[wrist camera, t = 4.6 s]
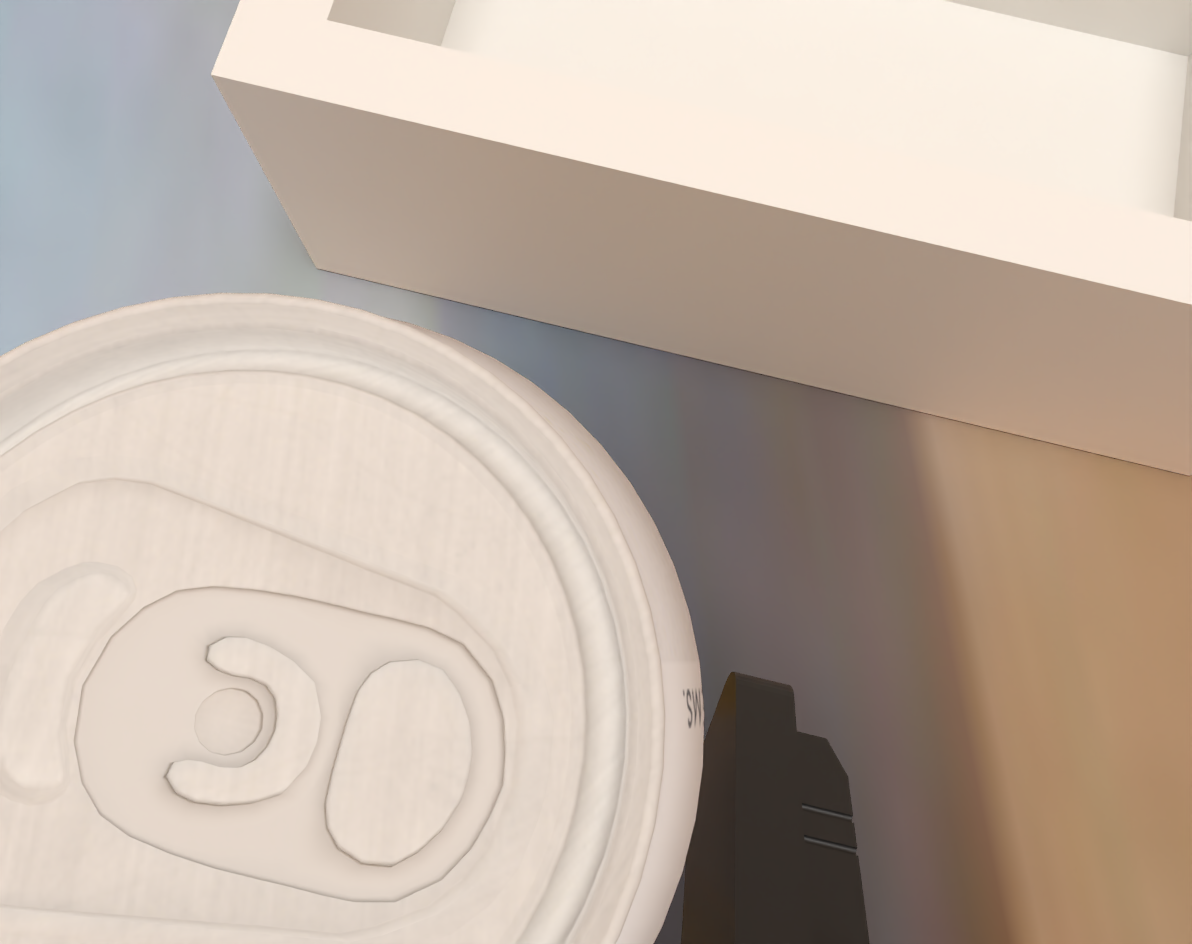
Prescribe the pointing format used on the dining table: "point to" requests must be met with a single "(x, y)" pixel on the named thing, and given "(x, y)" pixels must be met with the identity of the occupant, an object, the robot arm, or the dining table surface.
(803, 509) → the dining table surface
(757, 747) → the robot arm
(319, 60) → the white rectangular tray
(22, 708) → the beer can
